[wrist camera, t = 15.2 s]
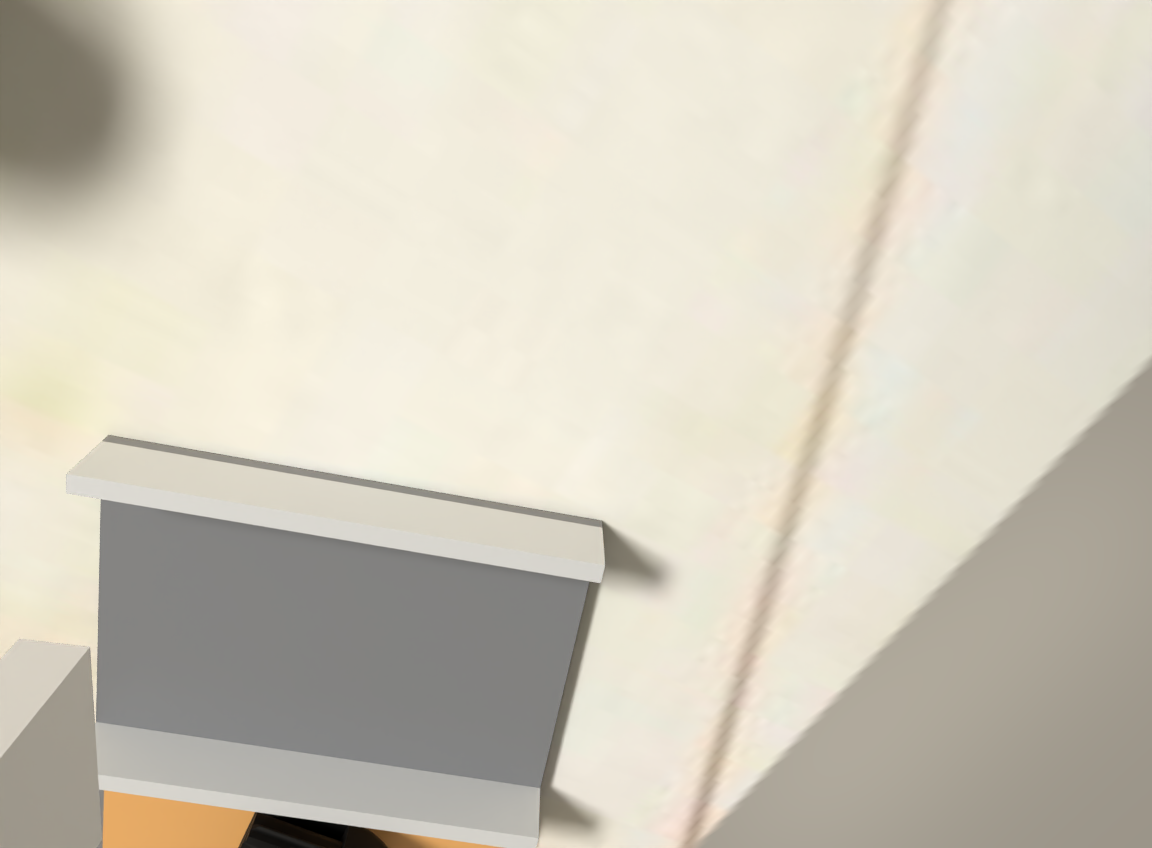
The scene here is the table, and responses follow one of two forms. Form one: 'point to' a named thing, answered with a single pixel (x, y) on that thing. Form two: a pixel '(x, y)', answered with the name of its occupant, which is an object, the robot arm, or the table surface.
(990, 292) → the table surface
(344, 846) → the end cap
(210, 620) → the slot rack
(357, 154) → the table surface
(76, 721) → the robot arm
